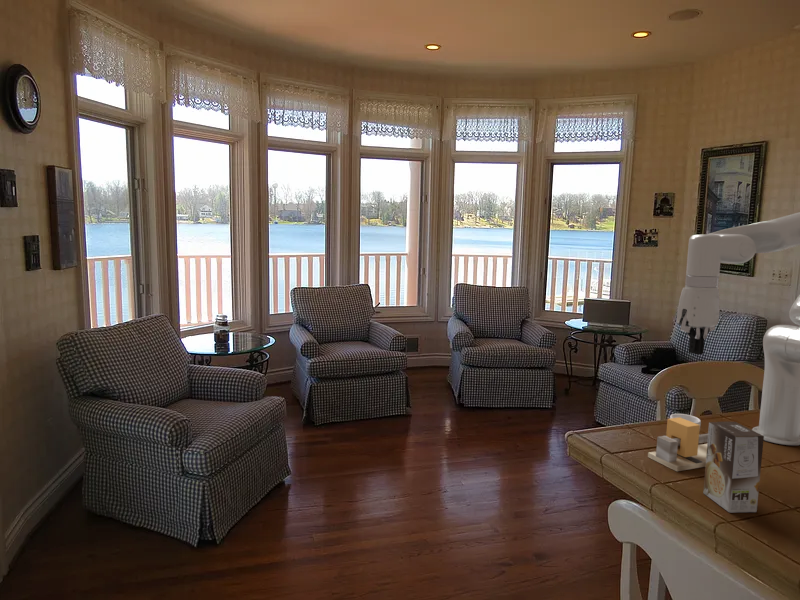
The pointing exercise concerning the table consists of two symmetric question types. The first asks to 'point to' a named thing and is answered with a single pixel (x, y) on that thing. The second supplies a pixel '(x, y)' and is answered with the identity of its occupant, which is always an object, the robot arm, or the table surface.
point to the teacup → (687, 418)
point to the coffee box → (733, 466)
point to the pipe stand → (671, 459)
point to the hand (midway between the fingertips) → (695, 353)
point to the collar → (684, 435)
